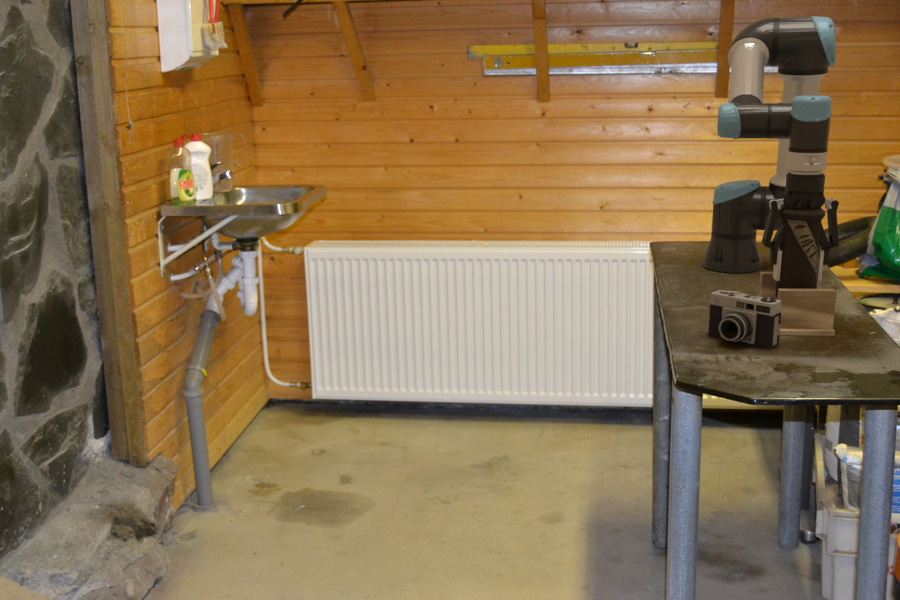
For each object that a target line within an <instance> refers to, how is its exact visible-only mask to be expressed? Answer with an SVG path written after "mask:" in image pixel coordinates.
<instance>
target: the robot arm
mask: <svg viewBox="0 0 900 600" xmlns="http://www.w3.org/2000/svg"><path fill="white" fill-rule="evenodd" d="M836 47H837V44H836V32H835V24H834V21H833V20H832V18H830V17H828V16H816V15H815V16H813V15H812V16H810V15H809V16H808V15H807V16H793V17H791V16H788V17H767V18H761V19H758V20H756V21H754V22H752V23H749V25H747V26H746V27H744V28H743V29H741V30H740V31H739V32H738V33H737V35H735V37H734V38H733V39H732V41H731V42H730V44H729V48H728V51H727V62H728V65H729V67H730V68H731V69H730V77H729V78H730V79H729V89H728V103H722V104H720V105H719V106H718V111H717V124H716V125H717V126H716V128H717V129H716V134H717V136H718V137H719V138H722V139H734V140H739V139H748V140H749V139H770V140H774V139H777V140H778V145H777V156H776V158H777V159H776V169H775V174H774V175H772V177H770V178H769V181H768V182H769V183H768V185H767V186H764V185H762V184H761V181H760V180H758V179H744V180H743V179H741V180H735V181H727V182H723V183H720V184H718V185H717V186H716V187H715V188H714V191H713V198H712V199H713V200H712V202H711V203H712V220H711V234H710V235H711V237H710V240H709V243H708V245H707V248H706V249H705V250H706V251H705V253H704V256H703V257H702V267H703V266H704V267H703V268H705V269H707V268H708V269H707V270H710V269H711V270H710V271H713V270H714V272H720V273H727V274H728V273H729V274H730V273H731V274H732V273H733V274H742V273H745V274H746V273H753V271H754V272H759V271H760V270H761V269H762V258H761V254H760V251H759V246H758V242H757V233H758V231H763V235H762V239H761V244H762V245H763V246H764V247H765V248H768V249H769V263H770V265H773V270H772V272H773V278H774V279H775V280H776V281H780V271H781V258H782V250H780V245H781V243H782V241H783V239H784V230H785V224H784V225H782V217H781V215H780V210H781V209H782V208H783V207H786V208H787V209H792V208H793V209H801V208H802V207H809V208H810V209H820V208H822V207H823V206H824V208H825V209H826V217H827V229H828V237H827V235H826V233H825V230H824V227H823V223H822V222H821V235H820V248H819V263H818V277H817V282H822V276H823V266H825V265H828V262H829V254H830V253H829V252H830V251H831V250H832V249H833V248H838V247H839V245H840V240H839V228H838V214H837V212H838V208H839V205H840V202H839V201H838V200H836V199H834V198H831V199H830V198H826V197H825V195H824V193H825V185H826V184H825V183H826V175H825V173H824V172H825V171H826V170H827V159H828V150H829V149H828V145H829V137H830V136H829V135H830V128H831V116H832V114H833V111H832V98H831V97H830V96H829V95H820V87H821V80H822V79H823V78H825V77H826V76H827V75H828V72H829V67H832V66H835V65H836V57H837V56H836V54H837V53H836V51H837V49H836ZM765 67H770V68H771V67H773V68H774V67H777V75H778V76H779V77H780V78H781V79H782V82H783V85H782V96H781V97H782V99H781V103H777V102H775V103H770V102H769V103H768V102H767V103H766V102H764V93H765V92H764V90H765V89H764V88H765V87H764V86H765ZM774 231H776V233H775V235H773V234H774Z"/></svg>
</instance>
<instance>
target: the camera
mask: <svg viewBox="0 0 900 600" xmlns="http://www.w3.org/2000/svg"><path fill="white" fill-rule="evenodd" d="M708 320H709V321H708V331H707V332H708V334H707V337H709V338H713V339H718V340H723V341H726V342H731V343H734V344H740V345H744V346H750V347H752V348H753V347H754V348H759V349H762V348H763V350H767V349H768V351H770V350H773V349H775V348H777V347H778V346H779V345H780V344H779V343H780V336H781V335H780V327H781V324H780V322H781V300H776V299H774V298H771V297H770V298H768V297H760V296H759V294H758V295H755V296H753V295H752V294H751V293H749V294H747V293H743V292H742V291H736V290H735V291H734V290H726V289H718V290H715V291H713V292H710V303H709V319H708Z"/></svg>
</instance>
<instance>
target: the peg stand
mask: <svg viewBox="0 0 900 600" xmlns="http://www.w3.org/2000/svg"><path fill="white" fill-rule="evenodd" d="M776 282H777V281H776V280H775V279H774V278H773V271H760V273H759V284H758V285H759V287H758V296H760V297H768V298H770V297H771V298H774V299H776V300H781V322H780V324H781V327H780V335H779V336H807V337H808V336H811V337H812V336H819V337H820V336H822V337H823V336H826V337H827V336H828V337H829V336H831V337H833V336H836V330H835V329H834V322H835V321H834V320H835V309H836V301H837V300H836V299H837V291H836V290H835V289H834V288H817V289H778V298H776V296H775V294H776Z"/></svg>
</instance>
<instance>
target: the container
mask: <svg viewBox="0 0 900 600" xmlns="http://www.w3.org/2000/svg"><path fill="white" fill-rule="evenodd" d="M780 215H781V217H782V225H784V224H785V230H784V239H783V241H782V243H781V245H780V247H779V249H780V250H782V258H781V271H780V281H777V282H776V294H775V296H776V298H778V289H818V281H817V277H818V263H819V248H821V246H820V235H821V223H822V221H823V220H824V218H825V217H826V211H825V210H824V209H823V208H822V207H821V208H820V209H810V208H809V207H802V208H801V209H793V208H792V209H787V208H786V207H783V208H782V209H781V210H780Z"/></svg>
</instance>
